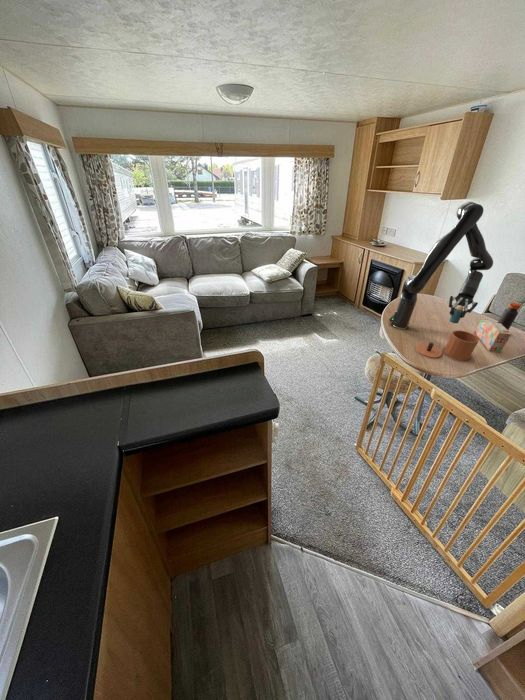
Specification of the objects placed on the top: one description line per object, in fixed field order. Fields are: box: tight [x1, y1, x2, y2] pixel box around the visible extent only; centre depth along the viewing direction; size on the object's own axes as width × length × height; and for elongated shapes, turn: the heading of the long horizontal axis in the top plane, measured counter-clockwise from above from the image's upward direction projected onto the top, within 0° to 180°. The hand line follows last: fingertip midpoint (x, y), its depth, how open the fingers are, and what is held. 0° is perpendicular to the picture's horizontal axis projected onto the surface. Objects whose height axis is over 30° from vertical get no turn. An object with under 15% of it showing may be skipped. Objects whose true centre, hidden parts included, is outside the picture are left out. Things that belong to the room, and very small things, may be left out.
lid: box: [415, 341, 443, 359], centre depth 161 cm, size 14×14×6 cm
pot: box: [443, 329, 480, 361], centre depth 158 cm, size 12×12×12 cm
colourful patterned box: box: [474, 319, 512, 353], centre depth 170 cm, size 21×6×12 cm, turn 168°
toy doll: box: [448, 305, 464, 324], centre depth 160 cm, size 5×5×10 cm
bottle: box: [497, 302, 522, 331], centre depth 178 cm, size 7×7×20 cm
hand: (456, 316), depth 159 cm, fingers closed on toy doll, 4 cm apart
